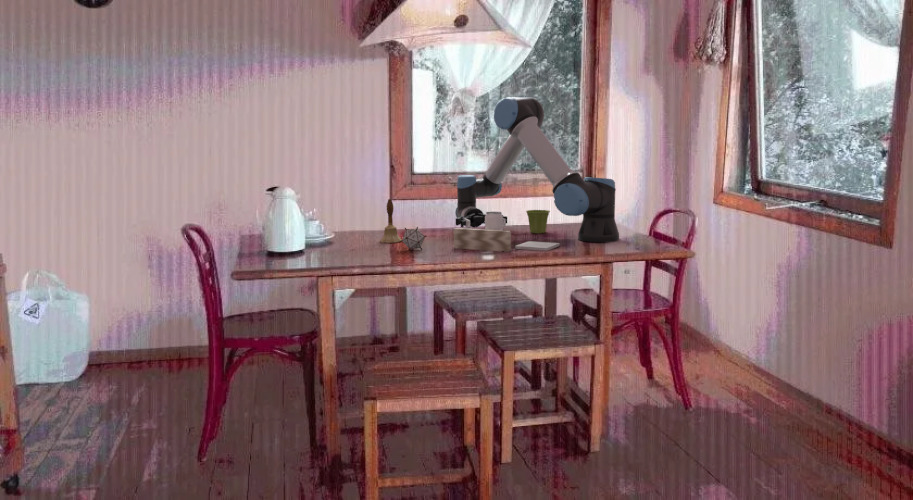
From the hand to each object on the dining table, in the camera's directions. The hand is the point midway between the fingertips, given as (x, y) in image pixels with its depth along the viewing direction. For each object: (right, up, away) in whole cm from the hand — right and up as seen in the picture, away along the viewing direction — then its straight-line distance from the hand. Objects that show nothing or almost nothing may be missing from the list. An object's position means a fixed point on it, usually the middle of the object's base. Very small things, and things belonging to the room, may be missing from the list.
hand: (487, 223), depth 316 cm
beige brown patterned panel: (-2, -10, -16) cm, 19 cm away
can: (+2, -8, -7) cm, 11 cm away
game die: (-26, -10, -15) cm, 32 cm away
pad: (+17, -9, -13) cm, 23 cm away
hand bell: (-36, -7, +6) cm, 37 cm away
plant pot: (+21, -3, +24) cm, 32 cm away
